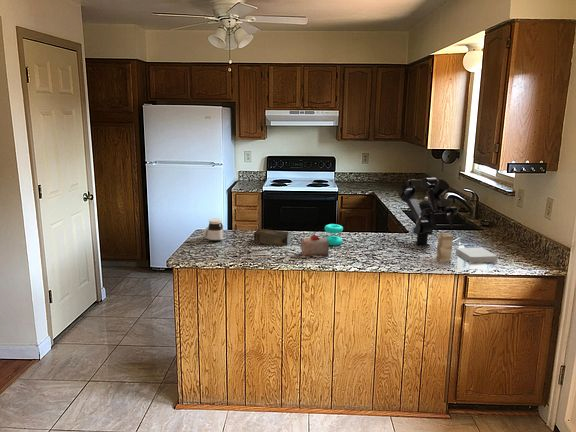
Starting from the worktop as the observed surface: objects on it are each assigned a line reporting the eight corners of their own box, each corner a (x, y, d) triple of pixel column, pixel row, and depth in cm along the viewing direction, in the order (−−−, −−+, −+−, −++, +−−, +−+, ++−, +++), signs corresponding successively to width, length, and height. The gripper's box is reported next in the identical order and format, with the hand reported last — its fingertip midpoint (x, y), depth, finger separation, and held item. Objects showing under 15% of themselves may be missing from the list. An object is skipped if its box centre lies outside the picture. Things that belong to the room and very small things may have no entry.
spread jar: (221, 243, 248) (220, 222, 245) (200, 242, 248) (199, 222, 245) (224, 237, 259) (224, 217, 256) (204, 236, 259) (204, 216, 257)
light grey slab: (455, 253, 237) (456, 248, 236) (480, 252, 239) (481, 247, 238) (470, 263, 223) (470, 257, 222) (496, 261, 225) (497, 256, 225)
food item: (302, 257, 228) (302, 238, 225) (300, 252, 235) (300, 233, 233) (329, 256, 229) (330, 237, 227) (326, 251, 237) (326, 233, 235)
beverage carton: (287, 246, 245) (287, 234, 244) (253, 243, 249) (253, 231, 248) (290, 242, 253) (291, 230, 251) (257, 239, 257) (257, 227, 255)
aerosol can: (421, 231, 277) (424, 198, 272) (414, 227, 285) (416, 196, 280) (433, 230, 280) (436, 198, 275) (425, 226, 287) (428, 195, 282)
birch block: (436, 258, 229) (438, 233, 226) (445, 257, 230) (448, 233, 227) (440, 261, 225) (443, 236, 221) (450, 261, 225) (453, 235, 222)
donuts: (330, 222, 255) (346, 225, 249) (330, 239, 258) (345, 243, 252) (321, 226, 247) (337, 229, 242) (320, 243, 250) (336, 247, 244)
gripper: (426, 193, 227) (435, 221, 221) (459, 191, 232) (469, 219, 226) (416, 203, 237) (424, 230, 230) (448, 201, 242) (456, 228, 235)
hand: (444, 227), depth 230 cm, fingers open, 9 cm apart
